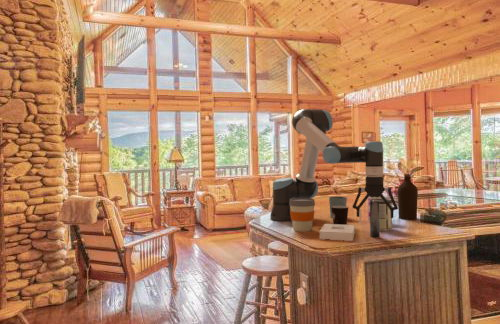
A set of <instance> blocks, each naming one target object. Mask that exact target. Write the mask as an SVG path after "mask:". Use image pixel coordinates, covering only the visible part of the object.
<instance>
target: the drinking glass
mask: <svg viewBox="0 0 500 324" xmlns="http://www.w3.org/2000/svg"><path fill="white" fill-rule="evenodd" d="M328 200H329V212H330V213H329V215H330V218H331V219H333V217H332V209H331V207H332V206H347V202H348V201H347V200H348V197H347V196H329V197H328Z"/></svg>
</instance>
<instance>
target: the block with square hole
mask: <svg viewBox="0 0 500 324" xmlns="http://www.w3.org/2000/svg"><path fill="white" fill-rule="evenodd" d="M355 230H356V225H355V224H347V225H341V224H333V223H324V224H323V225H322V226H321V229H320V230H319V240H325V239H330V240H331V241H343V240H344V241H345V242H347V241H348V242H353V241H354V238H355V233H356V231H355ZM330 240H329V241H330ZM344 241H343V242H344Z"/></svg>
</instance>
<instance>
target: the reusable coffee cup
mask: <svg viewBox="0 0 500 324" xmlns="http://www.w3.org/2000/svg"><path fill="white" fill-rule="evenodd" d="M315 201H316V200H315V199H314V198H293V199H290V203H289V205H290V209H291V210H290V215H291V222H292V223H291V224H292V229H293V231H295V232H311V231H312V229H313V227H312V226H313V221H314V218H315V206H316V203H315Z"/></svg>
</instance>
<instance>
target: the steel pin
mask: <svg viewBox="0 0 500 324" xmlns="http://www.w3.org/2000/svg"><path fill="white" fill-rule="evenodd" d="M380 233H381V231H380V213H379V201H378V200H370V221H369V235H370V238H373V239H374V238H377V239H378V238H380V237H381V234H380Z"/></svg>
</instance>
